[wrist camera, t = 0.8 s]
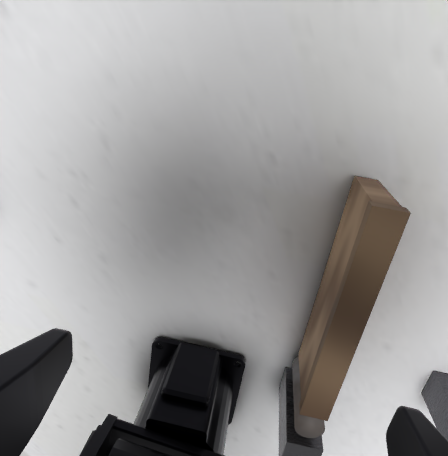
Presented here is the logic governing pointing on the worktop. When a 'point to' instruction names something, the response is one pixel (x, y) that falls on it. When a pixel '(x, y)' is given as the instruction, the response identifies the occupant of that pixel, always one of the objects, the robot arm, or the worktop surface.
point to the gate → (345, 300)
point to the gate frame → (312, 447)
